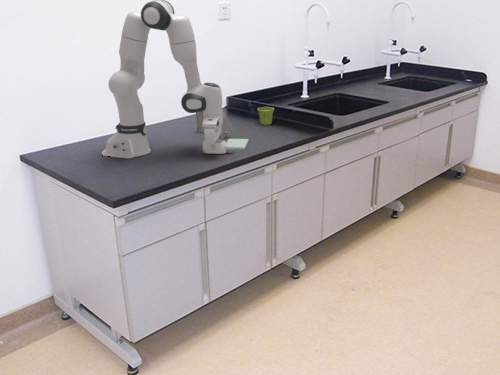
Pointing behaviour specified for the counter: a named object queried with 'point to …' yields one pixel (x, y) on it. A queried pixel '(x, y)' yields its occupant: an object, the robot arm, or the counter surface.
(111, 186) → the counter surface
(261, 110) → the plant pot
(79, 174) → the counter surface
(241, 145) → the green mat
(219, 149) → the connector
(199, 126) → the geiger counter
